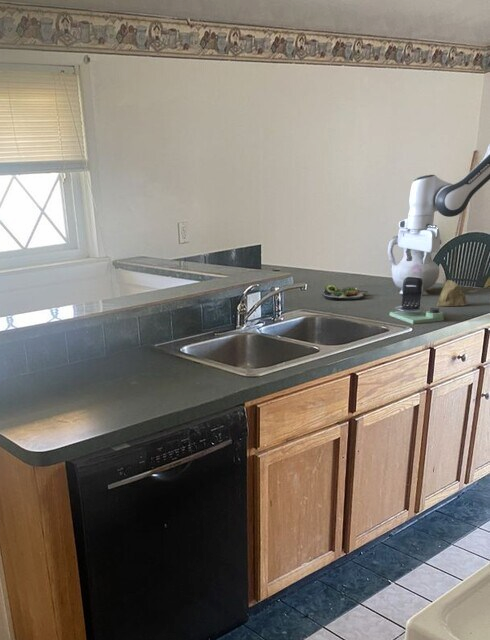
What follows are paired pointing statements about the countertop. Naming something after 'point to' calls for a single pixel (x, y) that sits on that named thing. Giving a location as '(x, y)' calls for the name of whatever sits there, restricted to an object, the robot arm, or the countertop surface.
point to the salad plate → (342, 293)
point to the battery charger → (412, 292)
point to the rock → (451, 295)
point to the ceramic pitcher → (413, 268)
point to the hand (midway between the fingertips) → (416, 262)
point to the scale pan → (409, 309)
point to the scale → (418, 316)
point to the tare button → (434, 310)
